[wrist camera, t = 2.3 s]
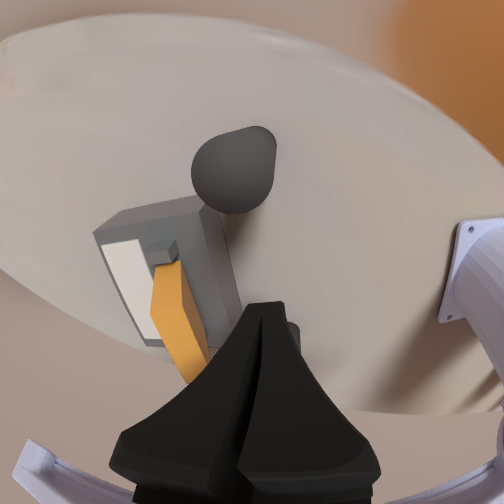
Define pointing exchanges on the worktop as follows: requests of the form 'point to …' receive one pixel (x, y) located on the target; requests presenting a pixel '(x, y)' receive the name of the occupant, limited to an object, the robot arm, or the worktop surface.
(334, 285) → the worktop surface
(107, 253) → the breaker box
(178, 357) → the breaker paddle
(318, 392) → the robot arm
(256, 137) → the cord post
